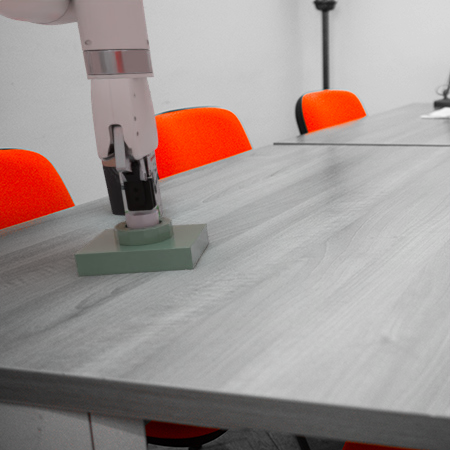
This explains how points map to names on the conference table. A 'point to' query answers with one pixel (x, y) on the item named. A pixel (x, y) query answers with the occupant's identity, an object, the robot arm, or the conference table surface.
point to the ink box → (155, 184)
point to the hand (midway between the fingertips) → (142, 208)
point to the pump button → (142, 218)
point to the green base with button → (143, 249)
